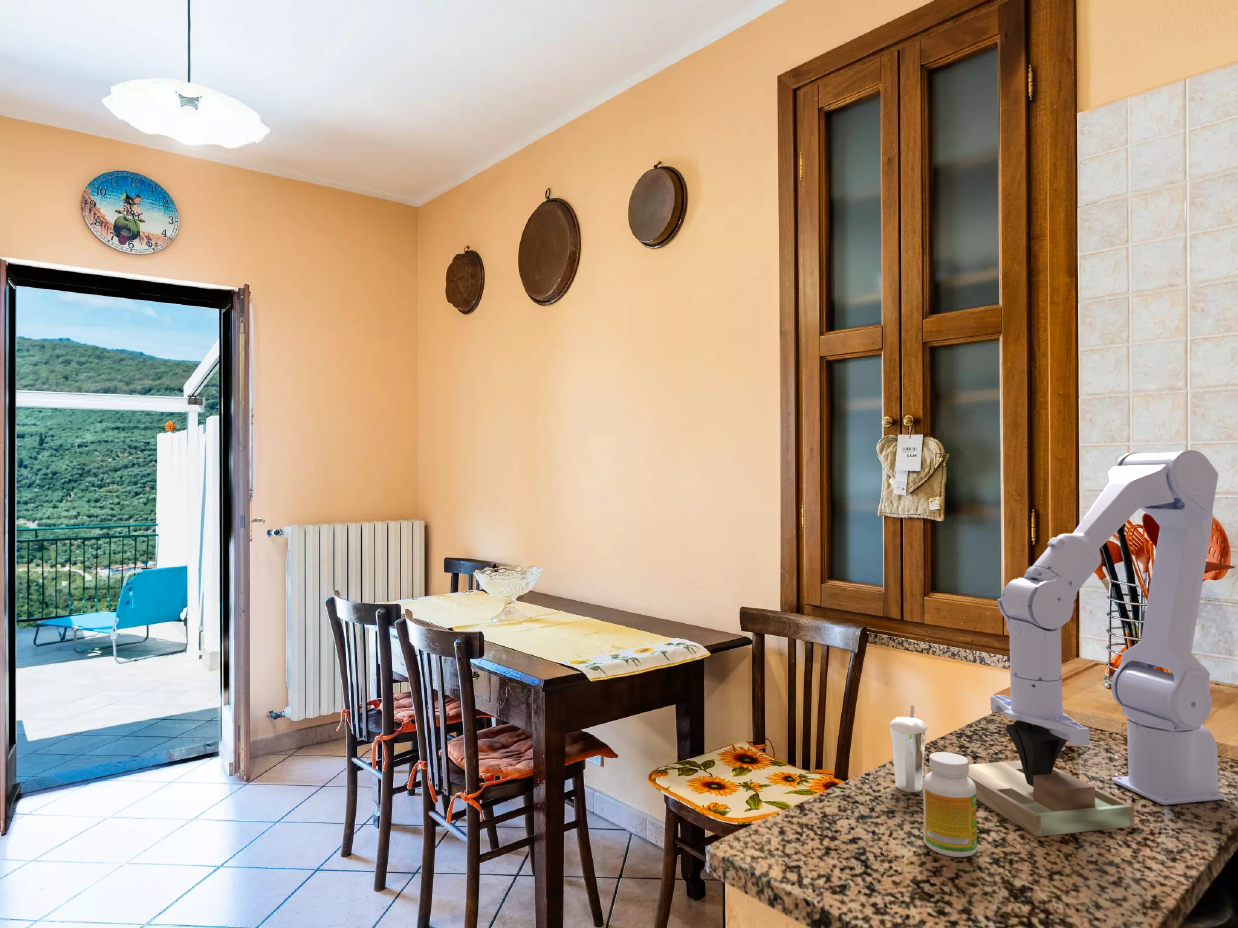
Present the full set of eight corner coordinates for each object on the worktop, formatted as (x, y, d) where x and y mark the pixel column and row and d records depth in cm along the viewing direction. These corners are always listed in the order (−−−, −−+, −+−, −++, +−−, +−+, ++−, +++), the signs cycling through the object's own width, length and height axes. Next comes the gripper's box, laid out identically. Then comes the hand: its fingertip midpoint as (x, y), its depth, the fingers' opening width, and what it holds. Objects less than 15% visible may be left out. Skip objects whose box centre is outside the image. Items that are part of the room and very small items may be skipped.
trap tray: (1026, 770, 106) (1026, 753, 106) (1134, 826, 89) (1133, 806, 89) (942, 777, 104) (942, 760, 104) (1036, 836, 86) (1036, 815, 87)
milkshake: (931, 783, 102) (930, 707, 102) (923, 797, 97) (922, 718, 98) (896, 776, 104) (895, 702, 105) (887, 789, 100) (886, 712, 100)
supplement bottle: (983, 860, 81) (981, 768, 81) (929, 856, 82) (927, 764, 82) (970, 837, 86) (969, 750, 87) (919, 833, 87) (918, 747, 88)
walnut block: (1065, 797, 94) (1065, 772, 94) (1095, 812, 89) (1094, 786, 89) (1033, 799, 93) (1033, 775, 93) (1061, 815, 88) (1061, 789, 88)
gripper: (969, 663, 102) (971, 766, 102) (1051, 692, 88) (1053, 812, 87) (1016, 661, 103) (1017, 762, 103) (1104, 689, 89) (1106, 806, 89)
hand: (1037, 784), depth 95 cm, fingers closed
